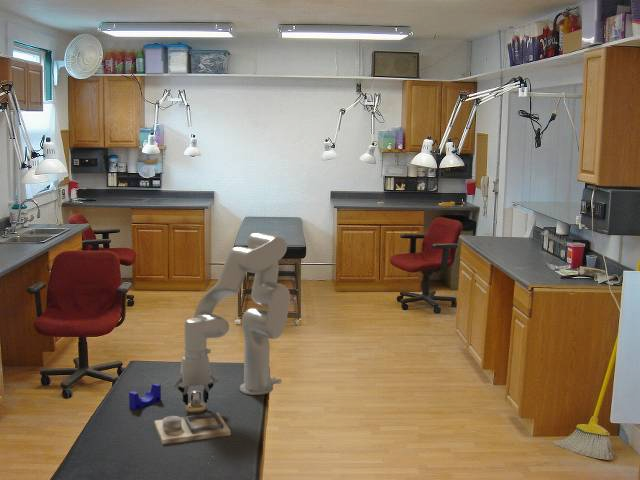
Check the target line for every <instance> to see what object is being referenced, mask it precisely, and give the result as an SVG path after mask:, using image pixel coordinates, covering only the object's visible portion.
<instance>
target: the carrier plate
mask: <svg viewBox="0 0 640 480" xmlns="http://www.w3.org/2000/svg"><path fill="white" fill-rule="evenodd" d="M153 424H154V428H155V431H156V432H157V434H158V437H159V439H160V442H161V443H162V445H167V444H168V445H169V444H175V443H184V442H189V441H190V442H191V441H196V440H197V441H198V440H204V439H211V438H219V437H226V436H228V437H229V436H231V435H232V433H231V432H232V430H231V429H230V428H229V426H228V425H227V423H226V422H225V420H224V418H223V417H222V416H221V414H220V412H213V413H203V414H197V415H196V414H195V415H188V416H179V415H178V416H177V415H169V416H166V417H164V418H163V419H156V420H154V421H153Z"/></svg>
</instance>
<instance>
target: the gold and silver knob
mask: <svg viewBox="0 0 640 480" xmlns="http://www.w3.org/2000/svg"><path fill="white" fill-rule="evenodd" d="M201 393H202V392H201V391H200V390H198V389H195V390H191V391H190V402H188V405H186V404H185V412H187V413H190V414H200V413H204V412H206V409H207V407H206V406H207V405H206V404H207V403H205V402H202V399H201V398H202V397H201V396H202V395H201Z"/></svg>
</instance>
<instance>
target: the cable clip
mask: <svg viewBox="0 0 640 480" xmlns="http://www.w3.org/2000/svg"><path fill="white" fill-rule="evenodd" d="M150 388H151V389H150V390H149V391H146V393H145V394H144V395H143V396H142V397H140V396H139V392H137V391H133V390H132V391H129V393H128V396H129V397H128V402H129V403H128V404H129V406H128V407H129V409H131V410H134V411H137V410H139V409H142V408H144V407H148V406H149V405H153V404H155V403H158V402H160V401H161V400H162V394H161V393H162V387H161V384H159V383H155V382H154V383H152V384H151V387H150Z"/></svg>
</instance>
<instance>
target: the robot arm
mask: <svg viewBox="0 0 640 480" xmlns="http://www.w3.org/2000/svg"><path fill="white" fill-rule="evenodd" d="M246 243H247V247H246V246H235V247H233V248H231V249H230V250H229V252H228V255H227V257H226V260H225V262H224V265H223V267H222V269H221V273H220V275H219V277H218V280H217V281H216V284H215V285H214V286H213V287H212V288H210V289H209V290H208V291H207V292H206V293H205V294H204V295H203V296H202V298H201V299H200V300H199V302H198V304H197V306H196V309H195V310H194V311H195V312H194V314H193V317H191V318H188V319H186V321H185V322H184V356H182V358H181V364H180V374H179V375H180V376H179V377H178V378H177V379H176V380H175V381H174V382H173V383H172V384H173V386H174V387H175V388H176V389H177V390H178V391H179V392H180V393H182V402H183V403H184V404H185V406H186V405H188V403H189V394H188V390H189V388H191V387H198V386H199V387H200V386H203V391H202V400H203V403H205V404H207V403H208V400H209V397H210V396H209V393H210V391H211V389H212V388H213V387H214V385H216V384H217V383H218V379H217V377H216V376H214V374H212V373H211V367H210V359H209V355H208V354H211V348H207V339H217V338H218V339H219V338H222V337H224V336H225V335H227V333H228V332H229V330H230V324H229V322H228V320H227V319H226V318H224V317H223V316H219V315H216V314H214V311H215V308H216V307H217V306H218V304H219V303H220V302H221V301H223V300H225V299H227V298H230V297H232V296H235V295H237V294H238V293H240V290H241V288H242V286H243V282H244V281H245V278H246V274H247V273H250V274H251V273H252V274H254V278H253V284H252V288H251V294H250V295H251V300H252V301H253V303H255V304H257V305H259V306H263V307H267V310H266V309H263V308H260V307H259V308H258V307H251V308H248V309H247V310H246V311H244V313H243V314H242V317H241V327H242V334H243V339H244V341H243V342H244V345H243V346H244V347H243V348H244V351H243V353H244V354H243V357H244V358H243V361H244V362H243V363H244V365H243V378H244V379H243V383H241V384H240V386H239V390H240V392H242V393H243V394H245V395H249V396H263V395H267V394H270V393H271V392H273V390H274V384H276V385H278V384H282V379H281V378H276V377H275V376H274V377H270V350H271V348H270V347H271V346H270V340H276V339H279V337H281V336H282V334H283V333H284V330H285V328H286V323H287V319H288V313H289V309H290V306H291V305H290V304H291V293H290V290H289V288H288V287H287V286H286V285H284V284H282V283H279V282H278V277H279V271H280V270H279V269H280V267H279V261H280V260H281V259H282V258H283V257H284V256H285V255H286V253H287V249H288V244H287V242H286V240H285V239H284V238H283V237H282V236H279V235H274V234H269V233H263V232H252V233H251V234H249V235H248V237H247V240H246ZM180 383H182V385H180Z"/></svg>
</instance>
